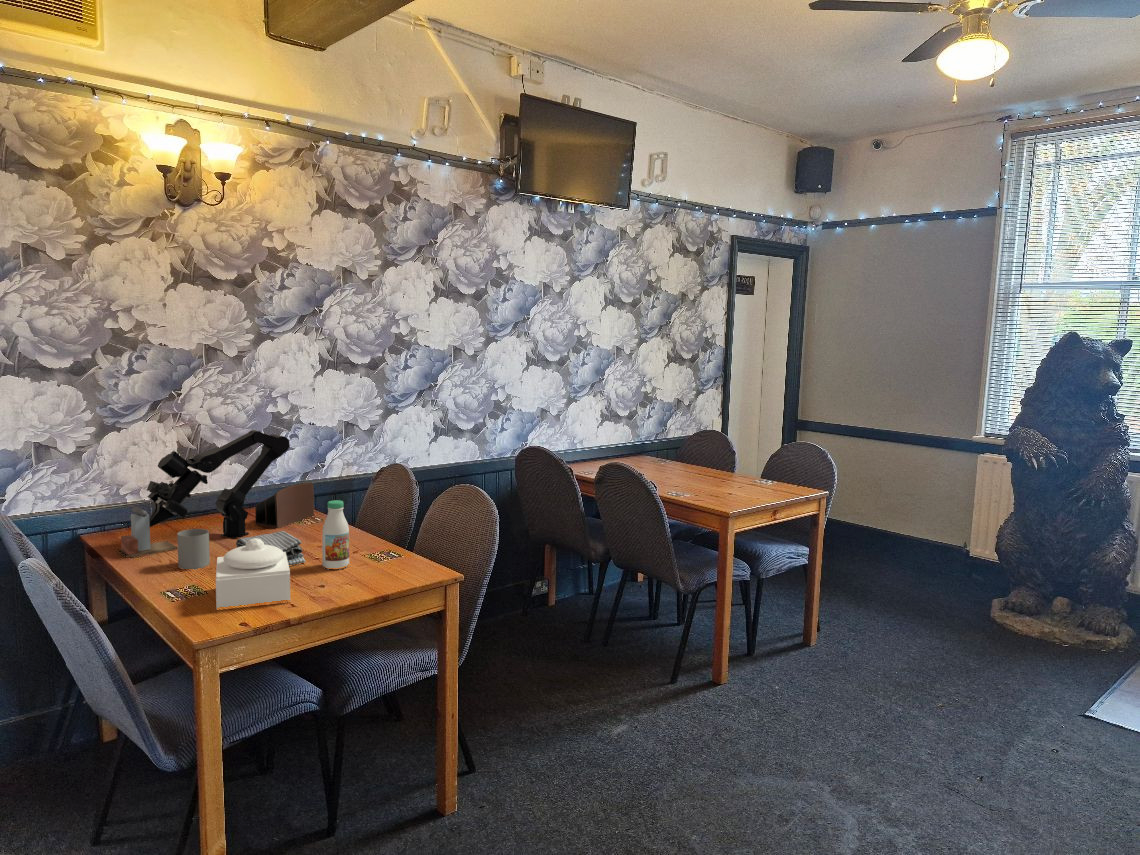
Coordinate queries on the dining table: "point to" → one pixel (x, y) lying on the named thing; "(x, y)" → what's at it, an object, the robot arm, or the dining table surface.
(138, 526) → the grey t-shaped piece
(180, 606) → the dining table surface
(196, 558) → the cup
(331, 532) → the milk bottle
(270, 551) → the white block with dome
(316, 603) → the dining table surface
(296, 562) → the towel
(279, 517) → the letter holder
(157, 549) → the tan base plate
